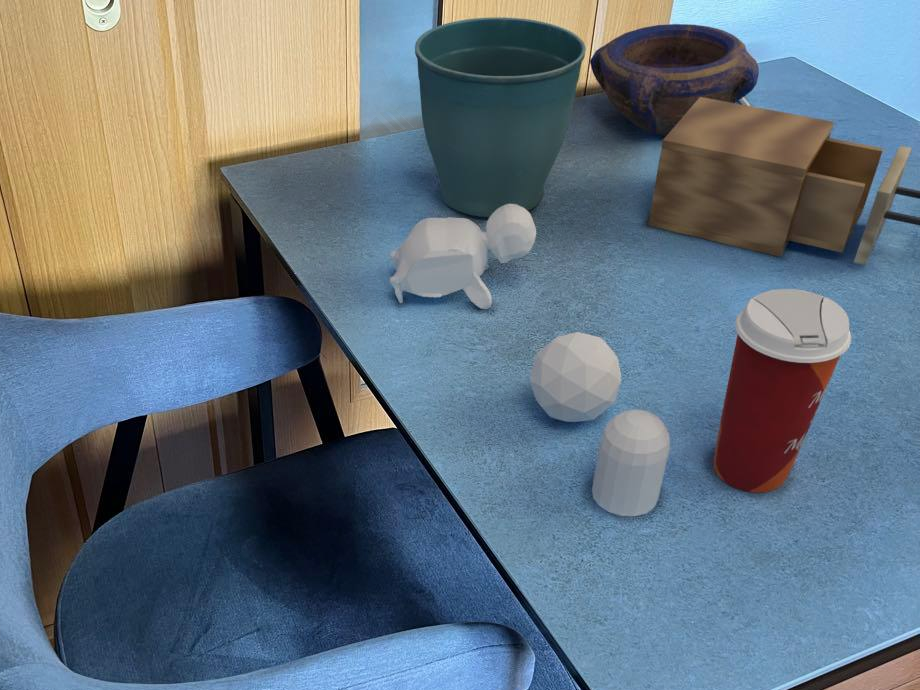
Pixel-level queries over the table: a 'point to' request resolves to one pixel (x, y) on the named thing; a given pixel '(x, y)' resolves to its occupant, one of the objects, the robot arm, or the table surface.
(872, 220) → the drawer
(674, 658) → the table surface
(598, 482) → the capsule
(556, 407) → the geometric ball
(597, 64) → the bowl
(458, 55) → the flower pot
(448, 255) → the white turtle figurine
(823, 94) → the table surface
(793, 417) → the coffee cup
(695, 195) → the cabinet
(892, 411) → the table surface
